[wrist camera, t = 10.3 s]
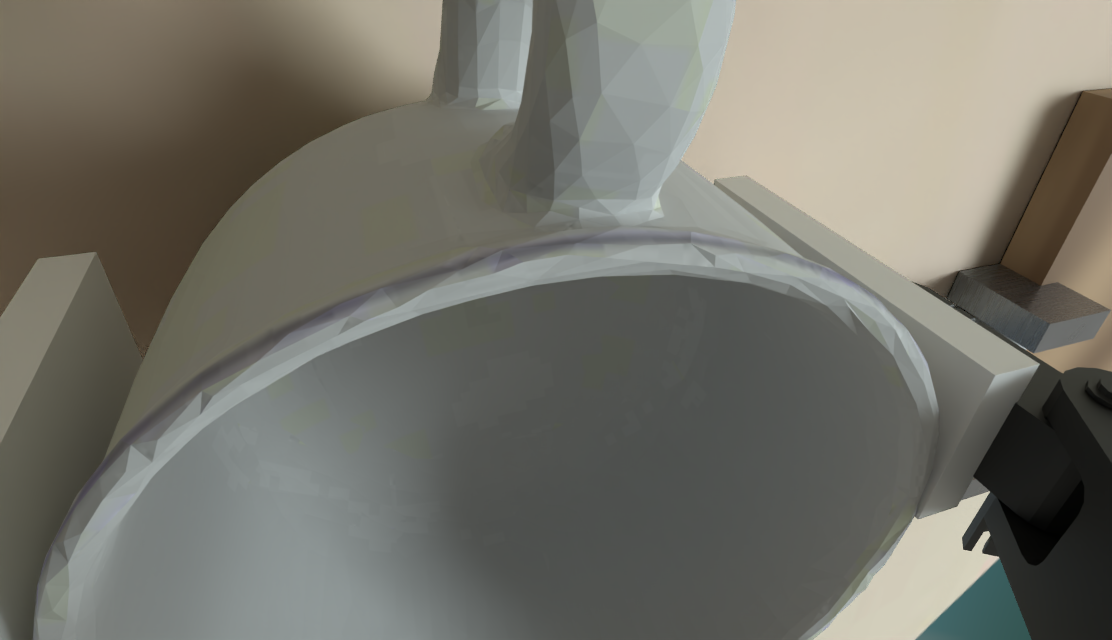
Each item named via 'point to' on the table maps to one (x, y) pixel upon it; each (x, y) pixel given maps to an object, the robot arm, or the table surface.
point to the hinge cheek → (1027, 308)
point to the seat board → (1074, 226)
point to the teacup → (505, 378)
